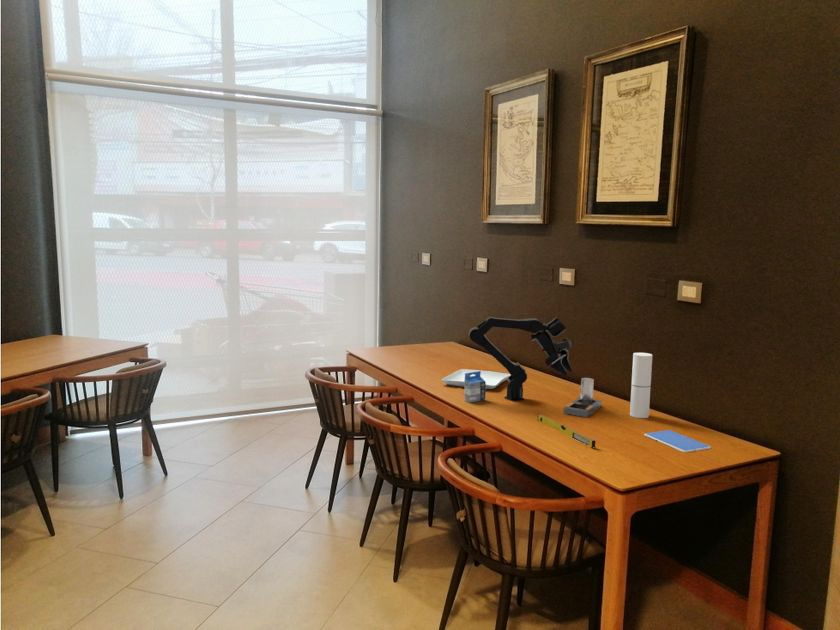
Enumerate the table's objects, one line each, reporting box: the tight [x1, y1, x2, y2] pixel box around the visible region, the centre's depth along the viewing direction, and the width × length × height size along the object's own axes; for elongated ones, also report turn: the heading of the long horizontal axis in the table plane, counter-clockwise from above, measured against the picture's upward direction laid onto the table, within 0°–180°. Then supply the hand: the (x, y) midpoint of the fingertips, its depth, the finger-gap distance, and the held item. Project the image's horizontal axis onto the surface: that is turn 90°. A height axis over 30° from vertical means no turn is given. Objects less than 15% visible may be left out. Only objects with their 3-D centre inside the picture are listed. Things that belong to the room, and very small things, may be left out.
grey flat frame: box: [563, 396, 602, 418], centre depth 256 cm, size 20×10×3 cm, turn 148°
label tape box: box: [464, 370, 486, 404], centre depth 268 cm, size 9×4×12 cm, turn 123°
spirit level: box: [537, 413, 596, 449], centre depth 225 cm, size 33×1×3 cm, turn 22°
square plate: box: [441, 368, 510, 390], centre depth 301 cm, size 27×27×4 cm
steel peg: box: [580, 377, 595, 404], centre depth 259 cm, size 5×5×12 cm
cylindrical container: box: [629, 352, 653, 419], centre depth 247 cm, size 7×7×25 cm
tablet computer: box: [643, 429, 712, 453], centre depth 218 cm, size 19×13×1 cm, turn 23°
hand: (569, 373), depth 264 cm, fingers open, 9 cm apart
